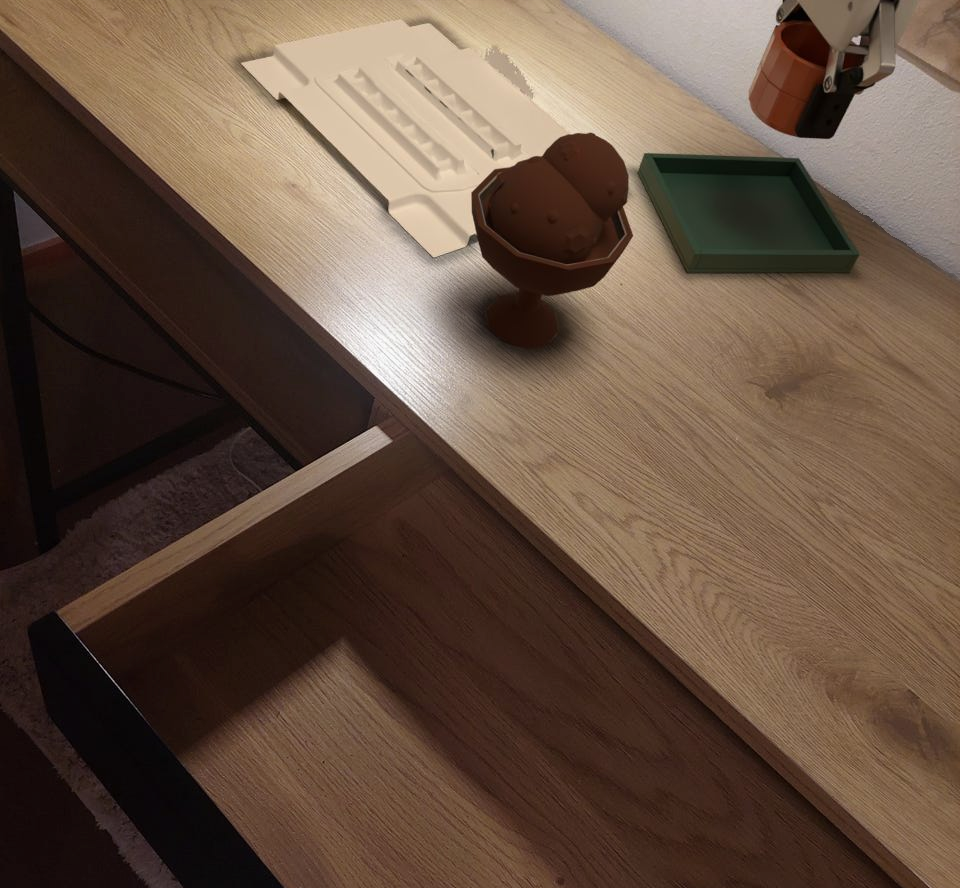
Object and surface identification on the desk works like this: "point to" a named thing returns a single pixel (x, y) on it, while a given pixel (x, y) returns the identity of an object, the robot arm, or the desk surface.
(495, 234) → the ice cream bowl
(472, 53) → the tray
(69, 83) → the desk surface
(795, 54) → the small cup
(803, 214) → the green tray
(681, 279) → the desk surface
